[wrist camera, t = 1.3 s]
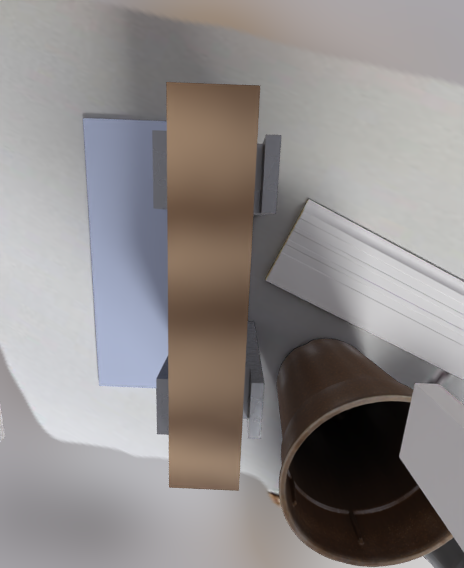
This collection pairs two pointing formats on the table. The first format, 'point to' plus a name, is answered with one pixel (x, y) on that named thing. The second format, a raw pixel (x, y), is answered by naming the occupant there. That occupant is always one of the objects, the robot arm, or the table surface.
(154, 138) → the stand
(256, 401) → the stand
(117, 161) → the felt pad
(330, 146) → the table surface
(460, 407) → the robot arm
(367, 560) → the plant pot
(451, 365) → the baseboard molding
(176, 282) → the oak rail
